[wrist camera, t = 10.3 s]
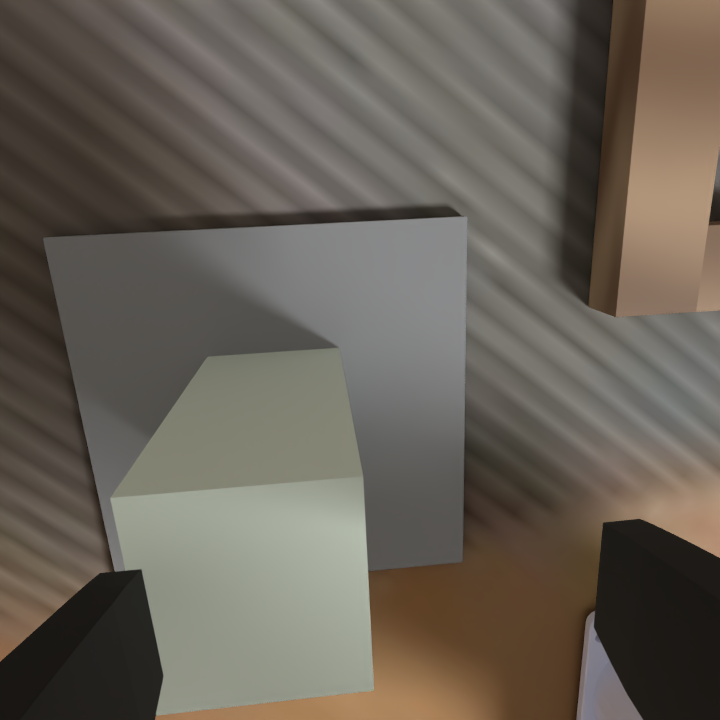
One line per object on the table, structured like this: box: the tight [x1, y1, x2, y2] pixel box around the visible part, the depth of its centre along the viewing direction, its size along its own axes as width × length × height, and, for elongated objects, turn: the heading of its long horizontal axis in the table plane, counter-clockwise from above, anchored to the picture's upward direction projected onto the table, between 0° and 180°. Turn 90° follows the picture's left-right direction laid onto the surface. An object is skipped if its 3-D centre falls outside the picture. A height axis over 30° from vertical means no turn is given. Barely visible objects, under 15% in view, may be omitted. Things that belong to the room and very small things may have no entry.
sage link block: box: [110, 348, 374, 716], centre depth 13 cm, size 4×4×8 cm
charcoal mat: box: [43, 216, 467, 572], centre depth 17 cm, size 12×12×1 cm
